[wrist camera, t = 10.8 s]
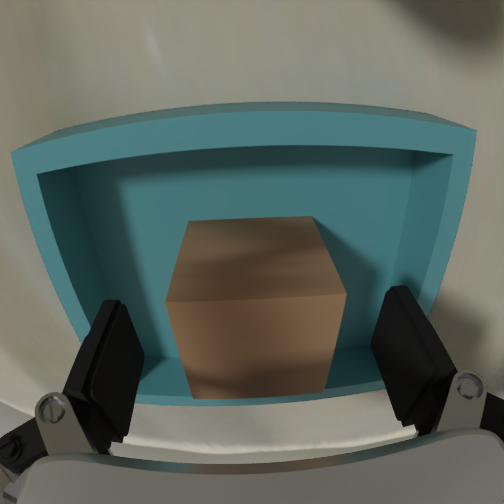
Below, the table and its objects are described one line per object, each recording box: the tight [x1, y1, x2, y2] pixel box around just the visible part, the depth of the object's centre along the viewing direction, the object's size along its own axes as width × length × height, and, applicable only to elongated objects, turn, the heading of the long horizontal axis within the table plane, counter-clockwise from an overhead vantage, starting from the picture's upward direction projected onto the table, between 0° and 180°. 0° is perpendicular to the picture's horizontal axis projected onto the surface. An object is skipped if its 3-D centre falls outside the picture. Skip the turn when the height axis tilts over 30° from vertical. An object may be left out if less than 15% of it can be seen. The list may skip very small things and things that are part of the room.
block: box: [165, 216, 347, 399], centre depth 12 cm, size 5×5×5 cm
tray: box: [11, 102, 477, 406], centre depth 13 cm, size 16×14×4 cm
